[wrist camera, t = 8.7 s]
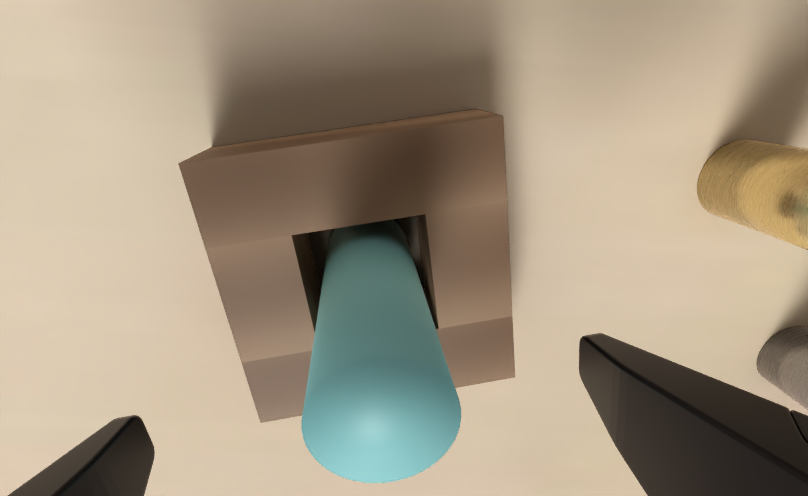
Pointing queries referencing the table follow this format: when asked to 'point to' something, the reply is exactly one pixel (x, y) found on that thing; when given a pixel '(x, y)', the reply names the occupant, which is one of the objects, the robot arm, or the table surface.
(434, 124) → the hole block
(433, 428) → the pin long
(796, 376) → the pin short
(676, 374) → the robot arm
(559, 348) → the table surface
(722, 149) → the pin medium
